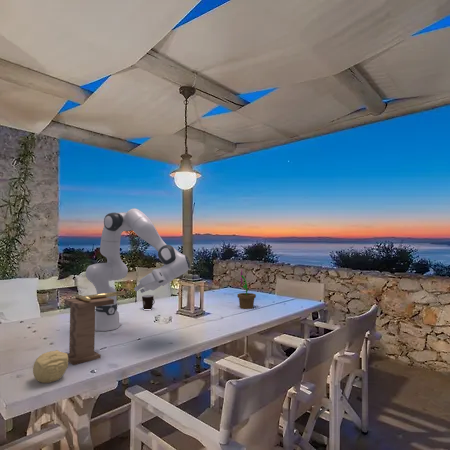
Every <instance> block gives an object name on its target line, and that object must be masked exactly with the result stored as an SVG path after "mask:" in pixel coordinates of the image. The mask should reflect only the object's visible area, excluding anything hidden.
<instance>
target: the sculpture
mask: <svg viewBox="0 0 450 450" xmlns="http://www.w3.org/2000/svg"><path fill="white" fill-rule="evenodd" d="M67 354H68V353H67V352H63V351H59V350H58V349H56V350H53V351H52V350H51V351H47V352H44V353H42V354H41V355H39V356H38V357H37V358H36V359H35V362H34V363H33V366H32V374H33V377H34V379H35V380H36V381H37V382H39V383H43V384H50V383H54V382H56V381H58V380H60V379H62V377H63V376H64V375H65V373H66V371H67V369H68V368H69V367H68V366H69V362H68V355H67Z"/></svg>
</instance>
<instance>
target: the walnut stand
mask: <svg viewBox="0 0 450 450" xmlns="http://www.w3.org/2000/svg"><path fill="white" fill-rule="evenodd" d="M64 304H65V305H67V306H69V344H68V345H69V349H68V350H69V351H68V353H67V355H68V363H69V364H71V365H73V366H76V365H79V364H83V363H88V362H91V361H94V360H99V359H101V356H102V355H101V354H100V353H98V352H97V351H95V334H96V333H95V332H96V331H95V311H96V310H95V309H96V307H97V306H103V305H110V304H114V299H110V298H107V297H104V298H97V299H91V301H90V302H86V301H83V300H80V299H77V298H75V297H73V298H67V299H64Z"/></svg>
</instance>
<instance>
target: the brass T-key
mask: <svg viewBox="0 0 450 450" xmlns="http://www.w3.org/2000/svg"><path fill="white" fill-rule="evenodd" d="M125 294H126V291H124V290H122V291H121V290H120V291H116V292H110V293H102V294H97V293H96V294H88V295H82V294H79V293H77V294H75V296H74V298H77V299H80V300H83V301H86V302H90V301H91V299H97V298H104V297H112V296H117V297H118V296H124V295H125Z"/></svg>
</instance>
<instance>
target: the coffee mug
mask: <svg viewBox="0 0 450 450" xmlns="http://www.w3.org/2000/svg"><path fill="white" fill-rule="evenodd" d="M154 297H155V296H154V295H152V294H144V295H141V301H142V308H144V309H151V308H152V309H153V305H154V304H155V301H156V300H155V299H154Z"/></svg>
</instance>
